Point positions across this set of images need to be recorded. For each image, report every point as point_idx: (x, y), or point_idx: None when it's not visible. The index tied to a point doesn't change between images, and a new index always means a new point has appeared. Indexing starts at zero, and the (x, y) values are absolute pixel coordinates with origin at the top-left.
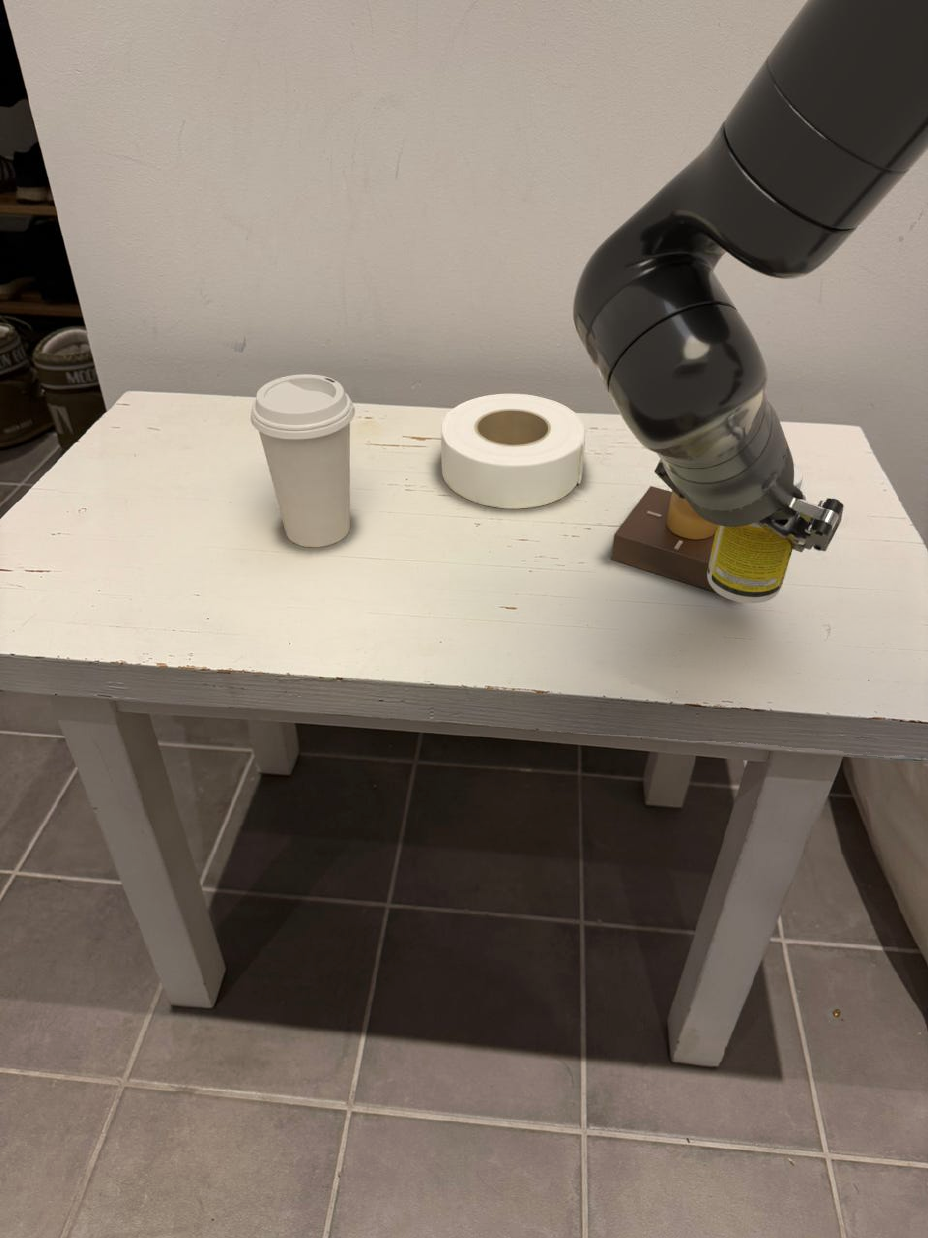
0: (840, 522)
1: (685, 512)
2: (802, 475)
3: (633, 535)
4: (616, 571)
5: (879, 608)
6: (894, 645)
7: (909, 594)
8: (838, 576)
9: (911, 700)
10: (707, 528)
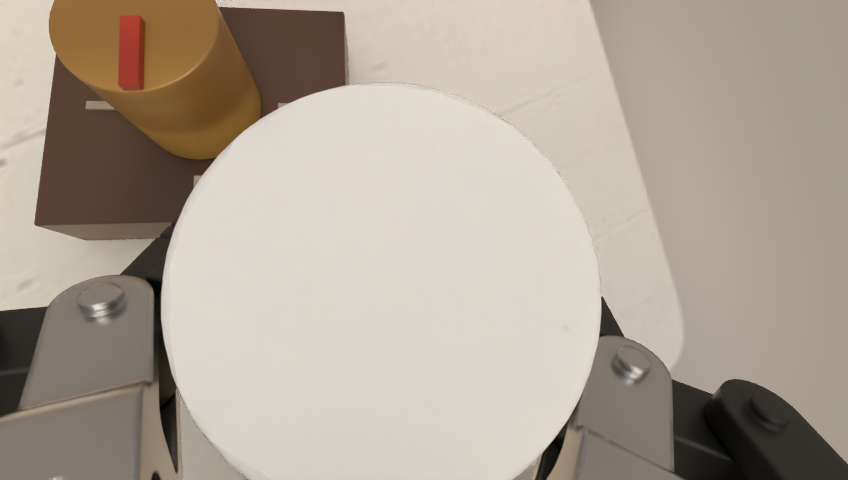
0: (795, 413)
1: (159, 130)
2: (587, 229)
3: (83, 207)
4: (112, 272)
5: (573, 135)
6: (619, 214)
7: (599, 78)
8: (494, 83)
9: (678, 331)
10: (238, 127)
